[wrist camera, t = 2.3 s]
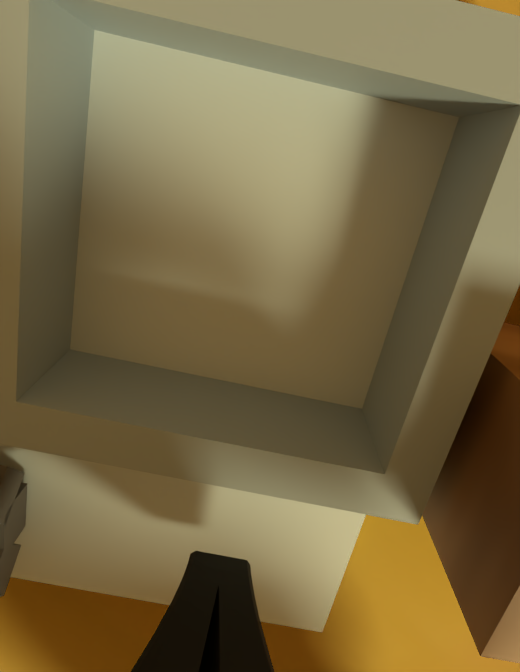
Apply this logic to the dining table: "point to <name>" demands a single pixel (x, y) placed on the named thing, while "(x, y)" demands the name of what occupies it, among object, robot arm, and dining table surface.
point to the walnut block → (485, 505)
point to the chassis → (245, 277)
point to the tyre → (10, 520)
